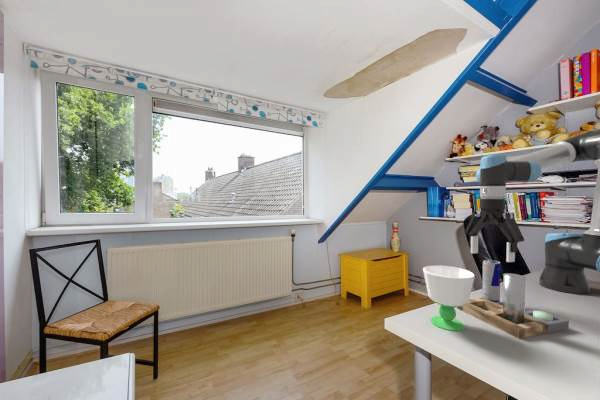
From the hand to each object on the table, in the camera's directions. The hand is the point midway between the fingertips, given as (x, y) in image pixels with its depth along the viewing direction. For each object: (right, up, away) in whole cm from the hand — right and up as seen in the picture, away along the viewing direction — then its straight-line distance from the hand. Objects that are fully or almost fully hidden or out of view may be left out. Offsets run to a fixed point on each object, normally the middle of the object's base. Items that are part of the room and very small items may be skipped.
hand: (491, 257), depth 96 cm
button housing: (+4, -17, -16) cm, 24 cm away
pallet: (-7, -17, -13) cm, 22 cm away
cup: (-25, -17, -16) cm, 34 cm away
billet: (-6, -17, -17) cm, 25 cm away
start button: (+4, -16, -16) cm, 23 cm away
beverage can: (0, -17, 0) cm, 17 cm away
